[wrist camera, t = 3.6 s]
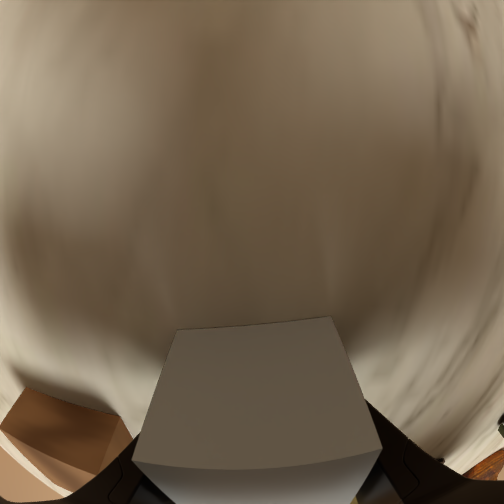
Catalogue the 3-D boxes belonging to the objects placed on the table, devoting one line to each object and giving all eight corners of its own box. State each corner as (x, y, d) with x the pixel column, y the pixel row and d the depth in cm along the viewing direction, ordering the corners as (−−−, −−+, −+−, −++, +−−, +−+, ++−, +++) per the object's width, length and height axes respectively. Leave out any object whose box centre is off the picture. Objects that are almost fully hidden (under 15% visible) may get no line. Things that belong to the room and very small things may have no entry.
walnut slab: (121, 413, 11) (97, 475, 7) (154, 470, 13) (143, 516, 10) (28, 384, 11) (-2, 427, 7) (71, 446, 14) (54, 484, 10)
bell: (470, 464, 18) (487, 502, 11) (514, 438, 18) (531, 468, 11) (424, 500, 22) (434, 533, 15) (472, 478, 22) (484, 505, 15)
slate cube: (330, 315, 9) (382, 448, 4) (323, 409, 10) (345, 510, 6) (177, 329, 9) (131, 460, 4) (207, 418, 11) (194, 518, 6)
